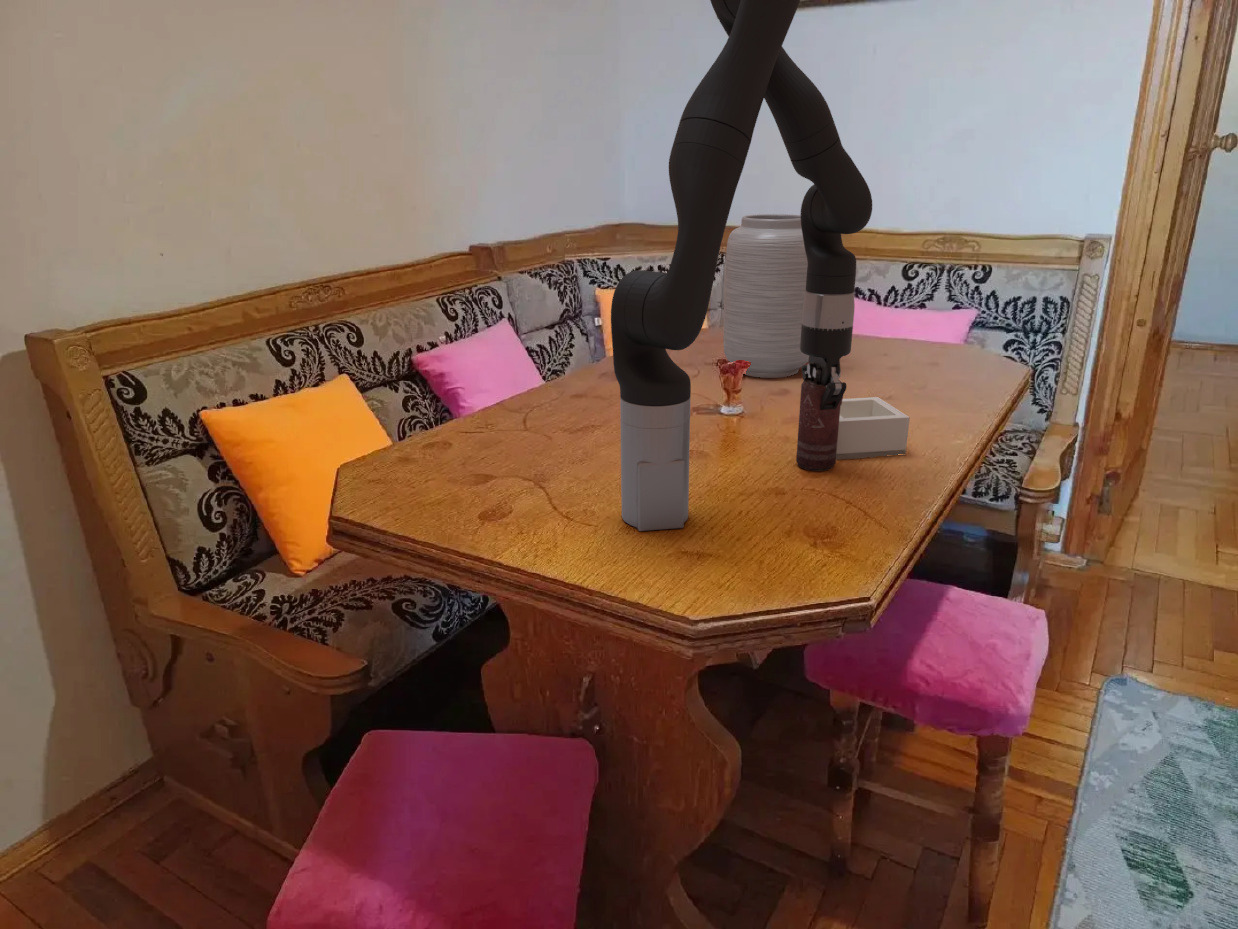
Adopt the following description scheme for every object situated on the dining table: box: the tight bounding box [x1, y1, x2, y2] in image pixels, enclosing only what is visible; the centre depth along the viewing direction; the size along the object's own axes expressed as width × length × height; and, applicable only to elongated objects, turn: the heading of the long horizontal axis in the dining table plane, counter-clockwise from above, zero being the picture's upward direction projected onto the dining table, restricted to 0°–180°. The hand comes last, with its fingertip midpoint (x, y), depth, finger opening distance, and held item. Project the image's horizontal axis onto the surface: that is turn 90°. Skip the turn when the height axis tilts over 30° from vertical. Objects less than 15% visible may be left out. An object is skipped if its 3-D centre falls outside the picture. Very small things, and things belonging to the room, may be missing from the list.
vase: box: [722, 213, 809, 379], centre depth 186 cm, size 20×20×34 cm
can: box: [795, 377, 844, 472], centre depth 132 cm, size 6×6×14 cm
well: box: [836, 396, 911, 461], centre depth 142 cm, size 12×12×6 cm
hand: (818, 431), depth 132 cm, fingers closed
